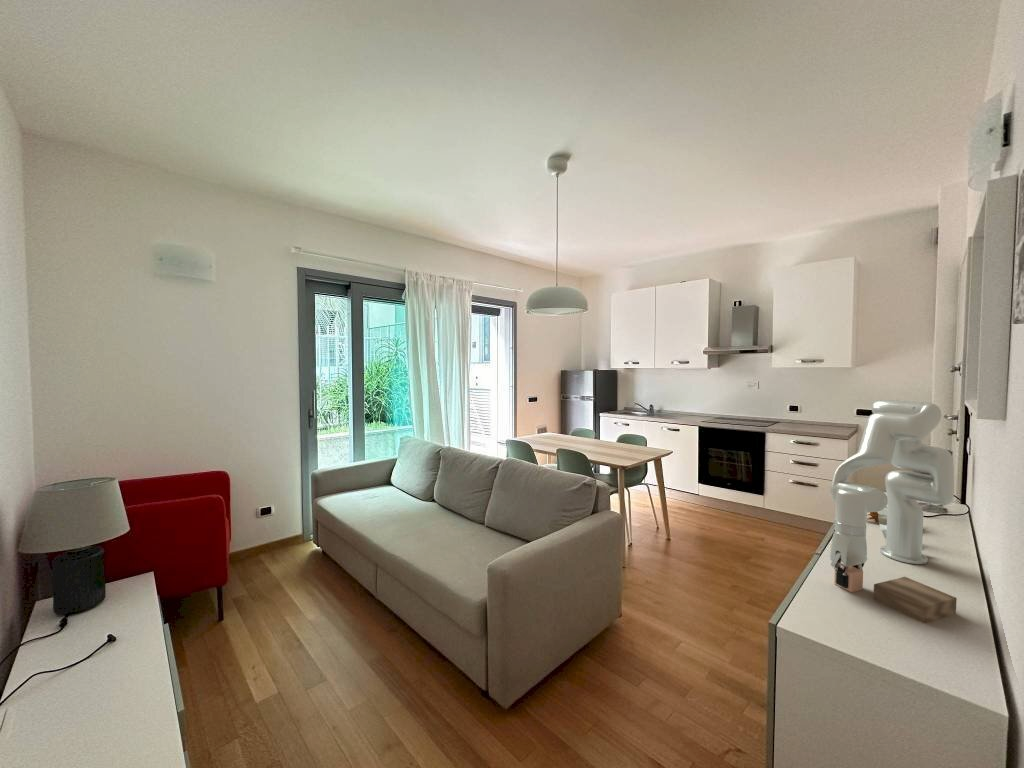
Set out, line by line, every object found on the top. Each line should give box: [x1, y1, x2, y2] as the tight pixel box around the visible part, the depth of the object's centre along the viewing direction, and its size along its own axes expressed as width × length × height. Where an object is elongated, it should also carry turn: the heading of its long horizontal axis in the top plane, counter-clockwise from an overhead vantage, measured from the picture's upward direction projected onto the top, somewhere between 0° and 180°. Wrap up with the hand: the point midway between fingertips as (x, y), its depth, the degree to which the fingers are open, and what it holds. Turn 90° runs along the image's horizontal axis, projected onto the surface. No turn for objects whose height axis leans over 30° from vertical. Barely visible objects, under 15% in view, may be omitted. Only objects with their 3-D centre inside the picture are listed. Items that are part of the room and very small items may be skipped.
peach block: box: [834, 566, 864, 593], centre depth 129 cm, size 5×5×6 cm
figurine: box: [878, 508, 887, 539], centre depth 164 cm, size 7×9×15 cm
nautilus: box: [866, 506, 887, 525], centre depth 180 cm, size 8×22×15 cm
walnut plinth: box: [872, 576, 958, 624], centre depth 119 cm, size 14×12×5 cm
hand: (848, 583), depth 129 cm, fingers closed on peach block, 5 cm apart
